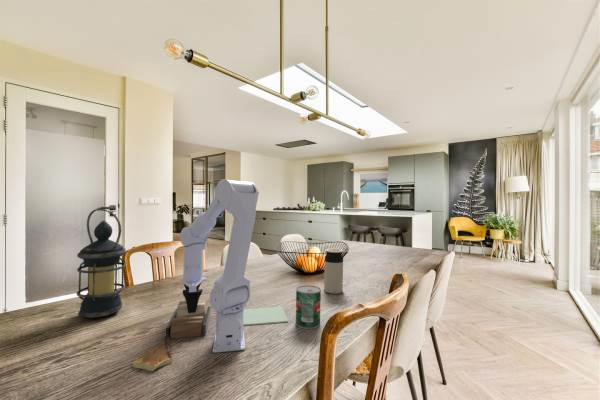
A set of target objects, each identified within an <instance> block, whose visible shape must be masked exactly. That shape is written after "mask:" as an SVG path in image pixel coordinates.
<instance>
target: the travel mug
mask: <svg viewBox="0 0 600 400" xmlns="http://www.w3.org/2000/svg"><path fill="white" fill-rule="evenodd" d="M343 251H344V250H343V249H341V248H340V249H339V248H326V249H325V253H326V254H325V256H324V282H323V283H324V285H323V291H324V292H325V293H328V294H331V295H338V294H341V293H342V292H343V288H344V287H343V282H344V279H343V278H344V256H343Z"/></svg>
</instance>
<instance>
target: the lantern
mask: <svg viewBox="0 0 600 400" xmlns="http://www.w3.org/2000/svg"><path fill="white" fill-rule="evenodd" d="M96 211H102V212H103V211H104V212H107V213H109V214H111V216H113V218H114V219H115V220H116V222H117V225H118V235H117V237H116V241H114V240H111V239H110V238H111V236H112V234H113V228H112V226H111V225H110V224H109V223H108V222H107V221H106V220H101V221H100V222H99V223H98V224H97V225H96V227H94V231H93V236H94V238H96V239H97V240H95V241H94V240H93V237H92V235H91V230H90V229H91V228H90V219H91V217H92V215H93V214H94V213H95V212H96ZM86 229H87V231H86V232H87V235H88V238H89V241H90V243H89V244H88V245H86V246H84V247H83V248H82V249H80V251H79V252H78V253H77V254H76V255H77V258H79V259H80V260H83V261H82V262H81V263H80V265H79V267H77V272H78V291H76V296H77V297H78V298H79V299H80V300H82V301H81V303H80V307H79V311H78V313H77V315H78V316H79V317H83V318H89V319H95V318H102V317H107V316H110V315H112V314H115V313H116V312H119V311H121V309H122V308H123V301H122V298H121V292H122V291H124V290H125V289H126V285H125V284H124V274H125V273H124V272H125V270H124V269H125V267H126V266H127V264H126V263H125V262H124V259H123V258H122V257H123V256H124V255H125V253H126V248H124V246H123V244H121V243H120V244H119V241H120V239H121V234H122V225H121V221H120V220H119V218H118V216H117V215H116V214H114V213H113V212H112V211H110V210H108V209H103V208H96V209H94V210H92V211H91V212H90V213H89V214H88V216H87V218H86ZM120 261H121V262H120ZM118 265H120V266H118ZM85 268H87V270H83V269H85ZM119 270H121V283H118V271H119ZM82 274H87V286H86V287H83V288H81V286H82V285H81V283H82V282H81V281H82ZM117 287H121V288H119V289H117ZM86 290H87V293H86V294H81V293H82V292H83V291H86Z"/></svg>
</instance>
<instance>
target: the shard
mask: <svg viewBox="0 0 600 400" xmlns="http://www.w3.org/2000/svg"><path fill="white" fill-rule="evenodd" d="M172 357H173V356H172V353H171V350H170V347H169V345H168V343H167V339H165V340H164V341H162V342H160V343H159V344H157V345H156V346H155V347H154V346H153V348H151V349H150V350H148V351H147V352H145V353H144V354H142V355H141V356H139V357H138V358H137V359H135V360H134V361H133V362H132V367H133V368H137V369H144V370H146V371H150V372H154V371H155V370H157V369H159V368H161V367H162V366H163V367H164V366H165V365H169V364H171V363H172V362H173V358H172Z"/></svg>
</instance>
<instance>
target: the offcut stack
mask: <svg viewBox="0 0 600 400" xmlns="http://www.w3.org/2000/svg"><path fill="white" fill-rule="evenodd" d="M171 318H172V317H171ZM202 334H203V316H197V317H182V318H172V322H171V335H170V339H177V338H179V339H180V338H189V337H190V338H191V337H200V336H202Z"/></svg>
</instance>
